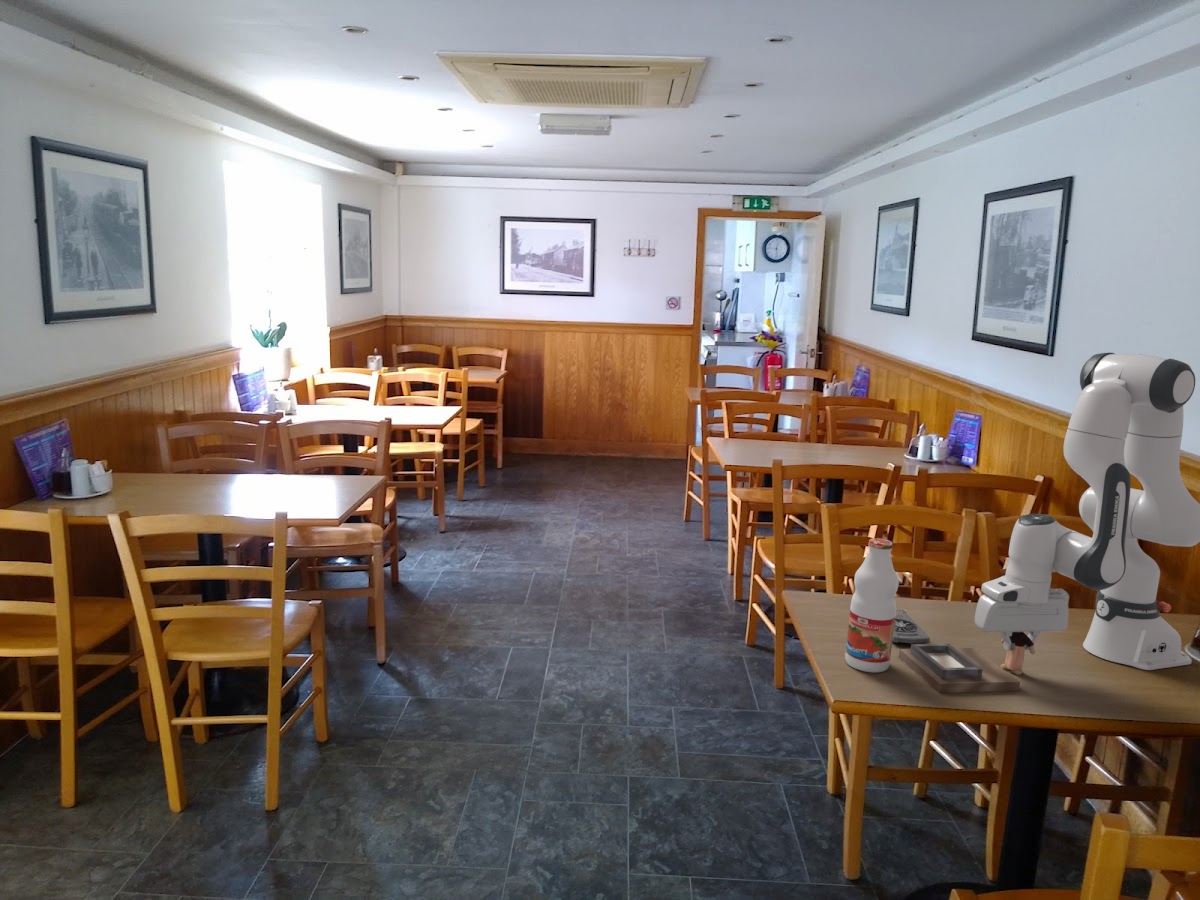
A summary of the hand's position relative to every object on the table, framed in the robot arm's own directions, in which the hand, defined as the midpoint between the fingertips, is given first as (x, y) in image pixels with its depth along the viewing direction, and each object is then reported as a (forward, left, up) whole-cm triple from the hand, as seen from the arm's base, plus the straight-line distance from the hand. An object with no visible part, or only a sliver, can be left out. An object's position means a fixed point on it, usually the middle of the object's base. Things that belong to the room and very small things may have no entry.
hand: (1017, 649), depth 188 cm
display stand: (+14, +1, -5) cm, 15 cm away
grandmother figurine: (0, 0, -5) cm, 5 cm away
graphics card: (+17, -22, -6) cm, 28 cm away
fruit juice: (+32, -5, -5) cm, 33 cm away
